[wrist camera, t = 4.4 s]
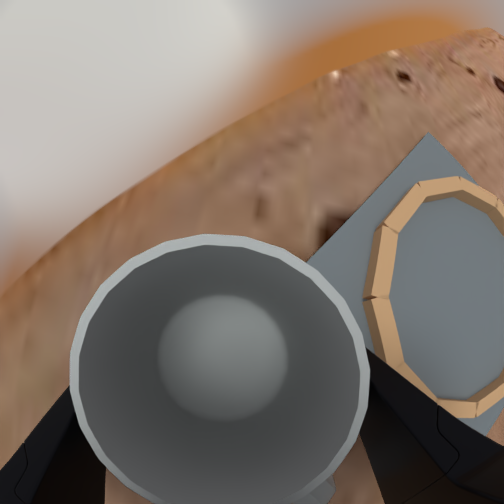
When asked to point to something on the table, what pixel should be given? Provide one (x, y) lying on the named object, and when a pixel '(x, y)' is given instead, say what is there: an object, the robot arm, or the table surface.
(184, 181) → the table surface
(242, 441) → the cup
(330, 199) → the table surface
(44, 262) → the table surface
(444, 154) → the collar mat
